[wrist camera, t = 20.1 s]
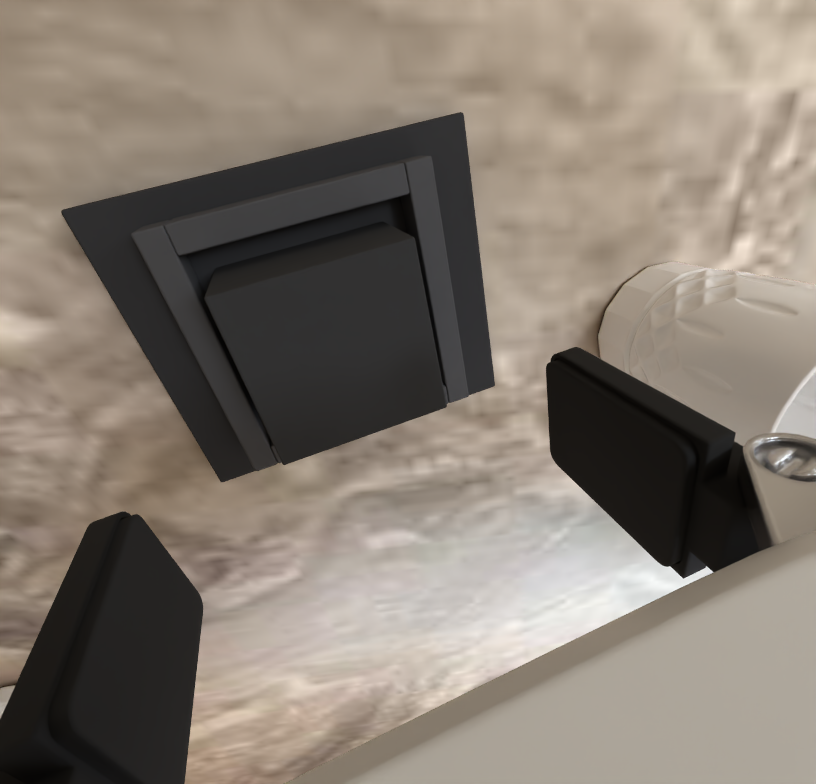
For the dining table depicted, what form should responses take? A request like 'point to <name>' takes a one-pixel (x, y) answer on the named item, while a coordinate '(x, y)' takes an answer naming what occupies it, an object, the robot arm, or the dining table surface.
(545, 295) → the dining table surface
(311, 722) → the dining table surface
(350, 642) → the dining table surface
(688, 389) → the white cup
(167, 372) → the base pad
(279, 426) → the black pad
